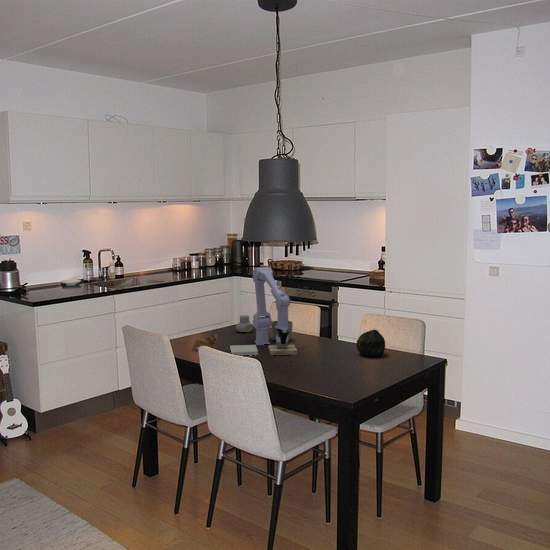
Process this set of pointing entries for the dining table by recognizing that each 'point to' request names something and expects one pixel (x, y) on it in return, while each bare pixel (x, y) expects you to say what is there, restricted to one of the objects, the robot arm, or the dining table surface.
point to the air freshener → (244, 324)
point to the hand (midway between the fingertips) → (282, 342)
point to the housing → (278, 341)
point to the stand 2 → (283, 350)
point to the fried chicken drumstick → (206, 341)
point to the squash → (371, 343)
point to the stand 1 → (244, 350)
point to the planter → (274, 330)
